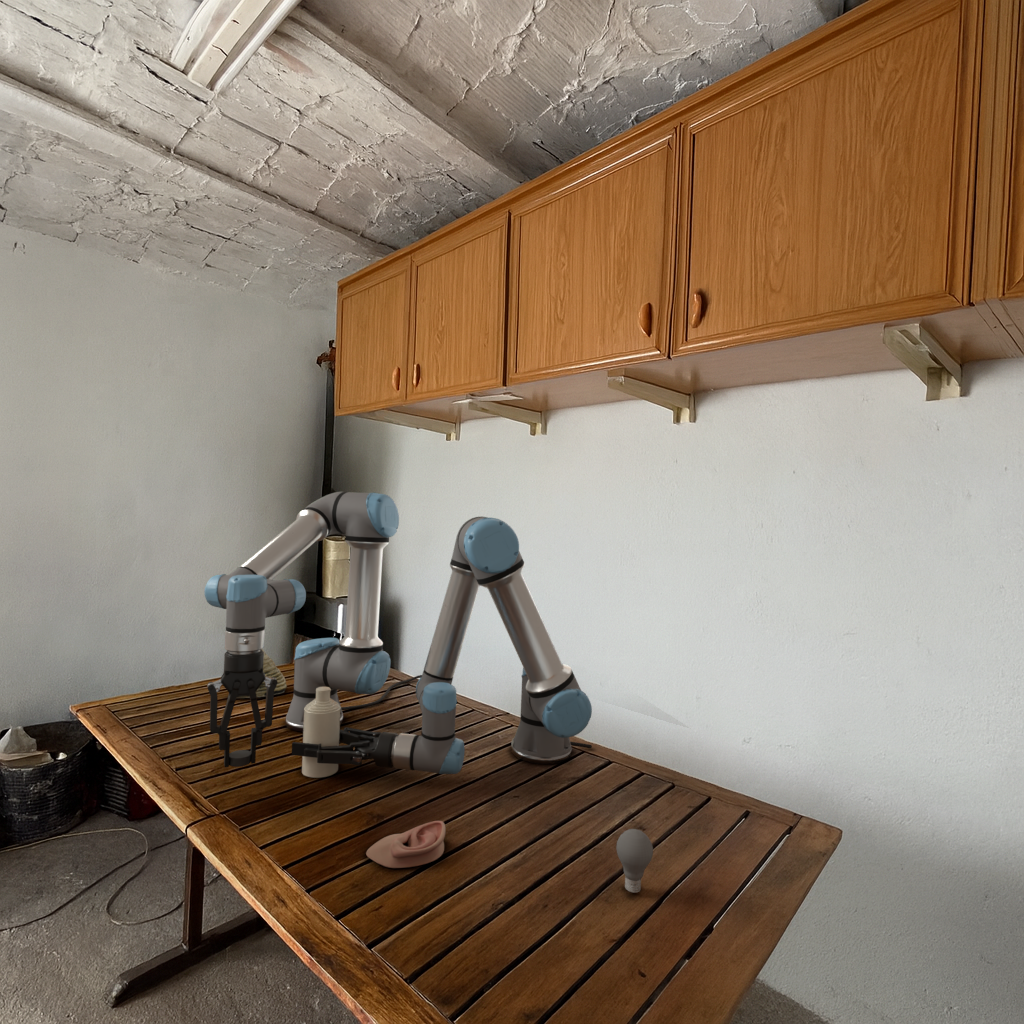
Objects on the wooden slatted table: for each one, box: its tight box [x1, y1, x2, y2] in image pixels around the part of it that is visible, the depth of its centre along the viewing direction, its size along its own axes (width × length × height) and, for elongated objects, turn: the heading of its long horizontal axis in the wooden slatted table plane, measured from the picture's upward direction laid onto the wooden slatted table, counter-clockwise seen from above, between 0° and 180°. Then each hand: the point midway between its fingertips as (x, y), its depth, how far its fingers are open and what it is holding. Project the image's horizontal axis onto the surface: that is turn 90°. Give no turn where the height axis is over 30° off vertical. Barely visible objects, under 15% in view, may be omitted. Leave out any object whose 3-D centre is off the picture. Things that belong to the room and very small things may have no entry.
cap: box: [229, 749, 251, 768], centre depth 131 cm, size 4×4×2 cm
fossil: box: [236, 648, 288, 699], centre depth 198 cm, size 9×18×15 cm, turn 132°
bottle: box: [301, 687, 342, 779], centre depth 146 cm, size 8×8×19 cm
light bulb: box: [615, 828, 654, 894], centre depth 106 cm, size 6×6×10 cm
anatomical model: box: [365, 820, 447, 869], centre depth 114 cm, size 13×4×12 cm
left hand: (239, 762), depth 131 cm, fingers closed on cap, 4 cm apart
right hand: (301, 741), depth 147 cm, fingers closed on bottle, 8 cm apart
